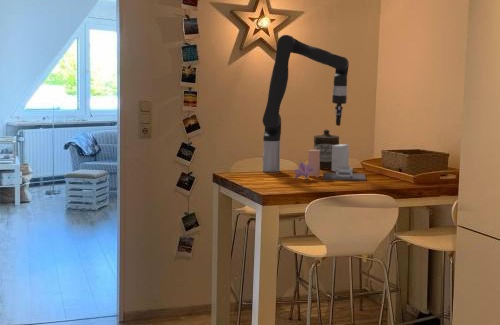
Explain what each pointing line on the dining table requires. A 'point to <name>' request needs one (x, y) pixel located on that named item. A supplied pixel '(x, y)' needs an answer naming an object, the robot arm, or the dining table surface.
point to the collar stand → (344, 175)
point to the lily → (304, 170)
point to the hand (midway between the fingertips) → (338, 124)
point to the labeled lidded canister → (325, 148)
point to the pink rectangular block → (314, 162)
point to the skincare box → (340, 156)
